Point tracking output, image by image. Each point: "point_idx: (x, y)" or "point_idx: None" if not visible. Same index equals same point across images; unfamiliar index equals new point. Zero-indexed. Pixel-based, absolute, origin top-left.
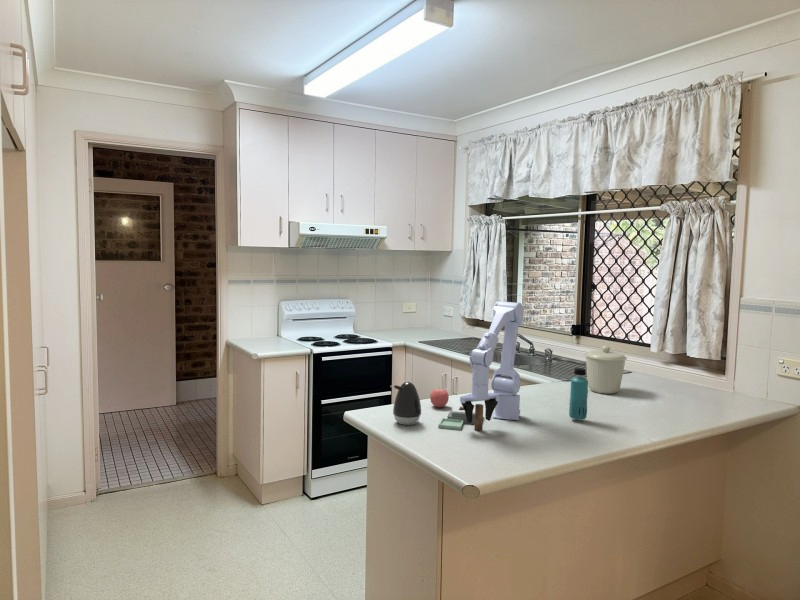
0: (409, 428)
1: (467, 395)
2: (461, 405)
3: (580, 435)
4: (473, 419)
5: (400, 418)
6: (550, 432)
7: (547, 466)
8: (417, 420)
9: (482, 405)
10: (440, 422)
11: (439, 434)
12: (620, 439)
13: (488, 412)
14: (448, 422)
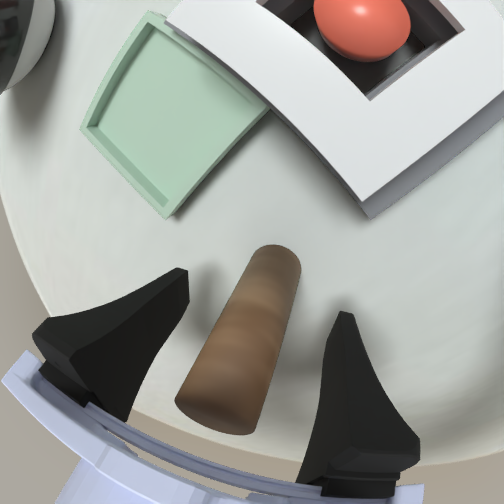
0: (24, 99)
1: (44, 422)
2: None
3: (480, 428)
4: (331, 171)
5: None
6: (471, 405)
7: (248, 450)
8: (31, 64)
9: (236, 431)
10: (98, 97)
11: (77, 207)
12: (486, 446)
13: (327, 382)
14: (166, 68)
